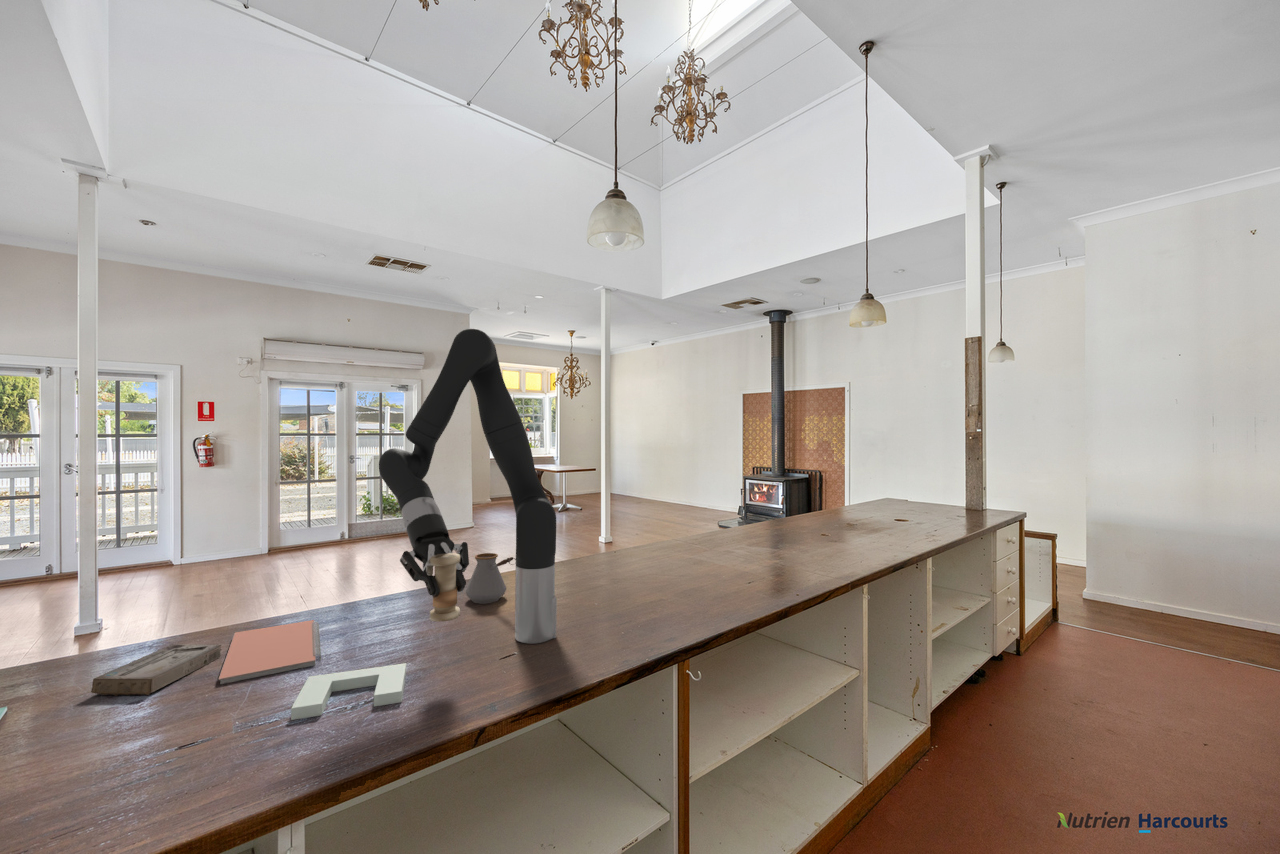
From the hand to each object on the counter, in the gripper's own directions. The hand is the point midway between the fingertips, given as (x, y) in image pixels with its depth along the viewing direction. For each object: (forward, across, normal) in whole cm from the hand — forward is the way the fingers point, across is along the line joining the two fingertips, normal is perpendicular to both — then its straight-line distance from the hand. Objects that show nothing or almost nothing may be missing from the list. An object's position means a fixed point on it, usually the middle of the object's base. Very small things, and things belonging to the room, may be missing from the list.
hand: (449, 591), depth 102 cm
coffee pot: (-12, +30, +37) cm, 49 cm away
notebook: (-16, -21, +41) cm, 49 cm away
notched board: (+7, -15, +17) cm, 24 cm away
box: (-17, -40, +42) cm, 61 cm away
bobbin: (+2, 0, +5) cm, 6 cm away
